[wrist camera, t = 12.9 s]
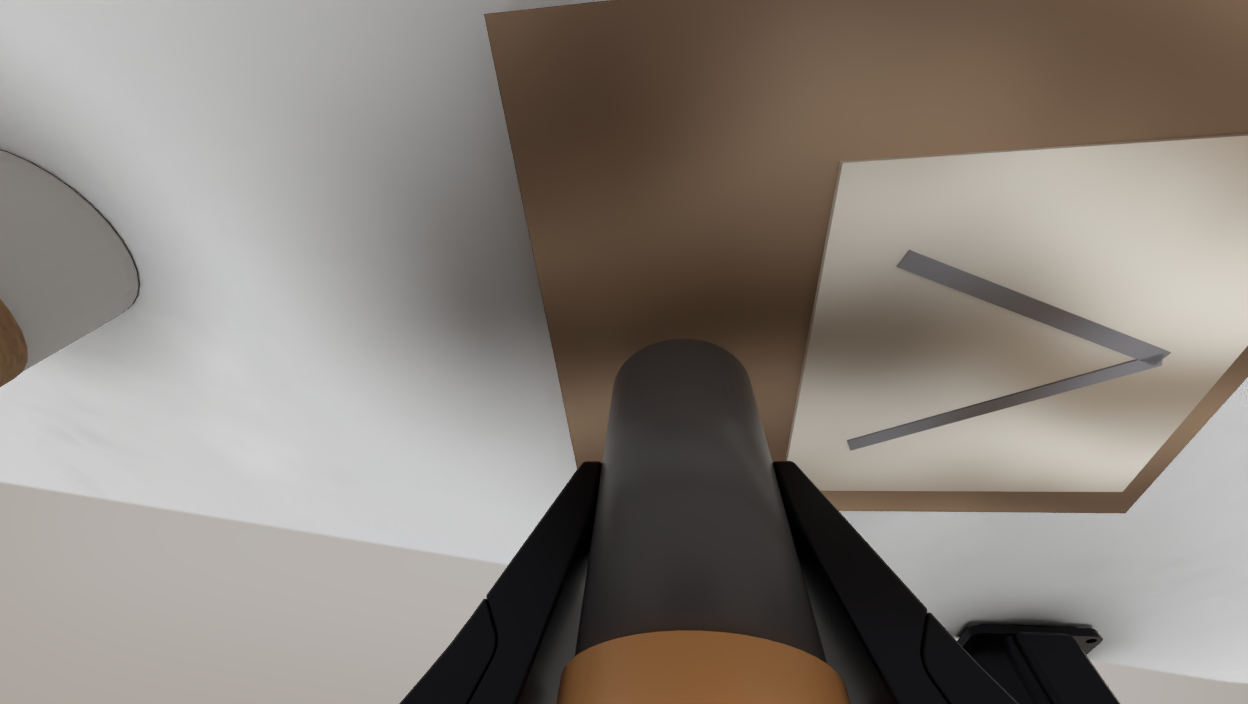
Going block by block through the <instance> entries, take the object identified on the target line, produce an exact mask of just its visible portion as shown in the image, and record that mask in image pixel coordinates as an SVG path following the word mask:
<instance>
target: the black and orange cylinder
mask: <svg viewBox="0 0 1248 704" xmlns="http://www.w3.org/2000/svg"><path fill="white" fill-rule="evenodd" d="M556 704H851V703H850V700H849V696H848V693H847V689H846V687H845V684H844V681H843V680H842V678H841V677H840V676H839V674H838V673H837V672H836V671H835V670H834V669H833V668H831V667H830V666H829V665H828V664H827V662H826V658H825V654H824V650H823V647H822V643H821V639H820V636H819V632H818V628H817V625H816V621H815V617H814V614H813V610H812V606H811V603H810V599H809V595H808V591H807V588H806V584H805V580H804V577H803V573H802V569H801V566H800V562H799V558H798V555H797V551H796V547H795V544H794V540H793V536H792V533H791V529H790V525H789V521H788V518H787V514H786V510H785V507H784V503H783V499H782V496H781V492H780V488H779V485H778V481H777V477H776V474H775V470H774V466H773V462H772V459H771V455H770V451H769V448H768V444H767V440H766V437H765V433H764V429H763V426H762V422H761V418H760V415H759V411H758V407H757V403H756V400H755V396H754V392H753V389H752V385H751V381H750V378H749V375H748V373H747V371H746V369H745V368H744V366H743V365H742V364H741V362H740V361H739V360H738V359H737V358H736V357H735V356H734V355H732V354H731V353H730V352H728V351H727V350H725V349H723V348H721V347H719V346H717V345H715V344H712V343H709V342H705V341H702V340H695V339H670V340H665V341H660V342H657V343H654V344H651V345H649V346H647V347H645V348H643V349H641V350H639V351H638V352H636V353H635V354H633V355H632V356H631V357H630V358H629V359H628V360H627V361H626V362H625V363H624V364H623V365H622V367H621V368H620V370H619V371H618V373H617V375H616V377H615V381H614V384H613V391H612V398H611V405H610V412H609V419H608V426H607V433H606V440H605V447H604V454H603V461H602V468H601V475H600V482H599V489H598V496H597V503H596V510H595V517H594V524H593V531H592V538H591V545H590V552H589V559H588V566H587V573H586V580H585V587H584V594H583V601H582V608H581V615H580V622H579V629H578V636H577V643H576V651H575V657H574V658H573V659H571V660H570V661H569V662H568V664H567V665H566V666H565V667H564V669H563V672H562V674H561V678H560V685H559V691H558V697H557V703H556Z"/></svg>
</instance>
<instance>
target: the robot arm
mask: <svg viewBox="0 0 1248 704" xmlns="http://www.w3.org/2000/svg"><path fill="white" fill-rule="evenodd" d="M773 466H774V470H775V474H776V477H777V481H778V485H779V488H780V492H781V496H782V499H783V503H784V507H785V510H786V514H787V518H788V521H789V525H790V529H791V533H792V536H793V540H794V544H795V547H796V551H797V555H798V558H799V562H800V566H801V569H802V573H803V577H804V580H805V584H806V588H807V591H808V595H809V599H810V603H811V606H812V610H813V614H814V617H815V621H816V625H817V628H818V632H819V636H820V639H821V643H822V647H823V650H824V654H825V658H826V662H827V664H828V665H829V666H830V667H831V668H833V669H834V670H835V671H836V672H837V673H838V674H839V676H840V677H841V678H842V680H843V681H844V684H845V687H846V689H847V693H848V696H849V700H850V703H851V704H1120V703H1119V701H1118V700H1117V698H1116V697H1115V696H1114V694H1113V693H1112V691H1111V690H1110V689H1109V687H1108V686H1107V684H1106V683H1105V681H1104V680H1103V679H1102V677H1101V676H1100V674H1099V673H1098V671H1097V670H1096V669H1095V667H1094V666H1093V664H1092V663H1091V662H1090V660H1089V659H1088V657H1087V656H1086V655H1087V654H1088V653H1089V652H1090V651H1091V650H1092V649H1094V648H1095V647H1096V646H1097V645H1098V644H1099V643H1100V642H1102V640H1103V639H1102V637H1101V636H1100V635H1099V633H1098V632H1097V631H1096V630H1095V629H1090V628H1060V627H1029V626H998V625H973V626H970V627H968V628H967V629H966V630H965V631H964V633H963V634H962V635H961V637H960V638H959V639H958V641H956V640H955V639H954V638H953V637H952V636H951V634H950V633H949V632H948V631H947V630H946V629H945V628H944V627H943V626H942V625H941V623H940V622H939V621H938V620H937V619H936V618H935V617H934V616H933V615H932V614H931V613H927V608H926V607H925V606H924V605H923V604H922V603H921V602H920V600H919V599H918V598H917V597H916V596H915V595H914V594H913V593H912V592H911V591H910V589H909V588H908V587H907V586H906V585H905V584H904V583H903V582H902V581H901V580H900V578H899V577H898V576H897V575H896V574H895V573H894V572H893V571H892V570H891V568H890V567H889V566H888V565H887V564H886V563H885V562H884V561H883V560H882V559H881V557H880V556H879V555H878V554H877V553H876V552H875V551H874V550H873V549H872V548H871V546H870V545H869V544H868V543H867V542H866V541H865V540H864V539H863V538H862V536H861V535H860V534H859V533H858V532H857V531H856V530H855V529H854V528H853V527H852V525H851V524H850V523H849V522H848V521H847V520H846V519H845V518H844V517H843V516H842V514H841V513H840V512H839V511H838V510H837V509H836V508H835V507H834V506H833V504H832V503H831V502H830V501H829V500H828V499H827V498H826V497H825V496H824V495H823V493H822V492H821V491H820V490H819V489H818V488H817V487H816V486H815V485H814V484H813V482H812V481H811V480H810V479H809V478H808V477H807V476H806V475H805V474H804V473H803V471H802V470H801V469H800V468H799V467H798V466H797V465H796V464H795V463H794V462H792V461H774V462H773ZM601 468H602V463H601V462H599V461H585V462H583V463H582V464H581V465H580V467H579V468H578V469H577V471H576V472H575V473H574V475H573V476H572V478H571V479H570V480H569V482H568V483H567V485H566V486H565V487H564V489H563V490H562V491H561V493H560V494H559V496H558V497H557V498H556V500H555V501H554V503H553V504H552V505H551V507H550V508H549V509H548V511H547V512H546V514H545V515H544V516H543V518H542V519H541V521H540V522H539V523H538V525H537V526H536V528H535V529H534V530H533V532H532V533H531V534H530V536H529V537H528V539H527V540H526V541H525V543H524V544H523V546H522V547H521V548H520V550H519V551H518V552H517V554H516V555H515V557H514V558H513V559H512V561H511V562H510V564H509V565H508V566H507V568H506V569H505V570H504V572H503V573H502V575H501V576H500V578H499V579H498V580H497V582H496V583H495V585H494V586H493V587H492V589H491V590H490V591H489V593H488V594H487V599H483V601H482V602H481V603H480V605H479V606H478V608H477V609H476V611H475V612H474V613H473V615H472V616H471V618H470V619H469V620H468V621H467V623H466V624H465V625H464V627H463V628H462V629H461V631H460V632H459V633H458V635H457V636H456V637H455V639H454V640H453V641H452V642H451V644H450V645H449V646H448V648H447V649H446V650H445V651H444V652H443V653H442V655H441V656H440V657H439V658H438V659H437V661H436V662H435V663H434V664H433V665H432V666H431V668H430V669H429V670H428V671H427V672H426V674H425V675H424V676H423V677H422V678H421V679H420V680H419V682H418V683H417V684H416V685H415V686H414V687H413V689H412V690H411V691H410V692H409V693H408V694H407V696H406V697H405V698H404V699H403V700H402V701H401V702H400V704H556V703H557V697H558V691H559V685H560V678H561V674H562V672H563V669H564V667H565V666H566V665H567V664H568V662H569V661H570V660H571V659H573V658H574V657H575V651H576V643H577V636H578V629H579V622H580V615H581V608H582V601H583V594H584V587H585V580H586V573H587V566H588V559H589V552H590V545H591V538H592V531H593V524H594V517H595V510H596V503H597V496H598V489H599V482H600V475H601Z"/></svg>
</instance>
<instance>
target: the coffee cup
mask: <svg viewBox="0 0 1248 704" xmlns="http://www.w3.org/2000/svg"><path fill="white" fill-rule="evenodd" d="M138 286H139V284H138V277H137V271H136V268H135V266H134V263H133V261H132V258H131V256H130V254H129V252H128V251H127V249H126V247H125V246H124V244H123V242H122V240H121V239H120V238H119V237H118V235H117V234H116V233H115V231H114V230H113V229H112V227H111V226H110V225H109V224H108V222H107V221H106V220H105V219H104V218H103V217H102V216H101V215H100V214H99V213H98V212H97V211H96V210H95V209H94V208H93V207H92V206H91V205H90V204H89V203H88V202H87V201H85V200H84V199H83V198H82V197H81V196H80V195H78V194H77V193H76V192H75V191H74V190H73V189H71V188H70V187H68V186H67V185H65V184H64V183H63V182H61V181H60V180H58V179H57V178H55V177H54V176H53V175H51V174H49V173H48V172H46V171H44V170H42V169H41V168H39V167H37V166H35V165H34V164H32V163H30V162H28V161H26V160H24V159H21V158H19V157H17V156H14V155H12V154H10V153H8V152H5V151H1V150H0V387H1V386H3V385H4V384H6V383H8V382H9V381H11V380H12V379H14V378H15V377H17V376H18V375H19V374H20V373H21V372H23V371H24V370H26V369H28V368H29V367H31V366H33V365H35V364H36V363H38V362H40V361H41V360H43V359H45V358H47V357H48V356H50V355H52V354H53V353H55V352H57V351H59V350H60V349H62V348H64V347H65V346H67V345H69V344H71V343H72V342H74V341H76V340H78V339H79V338H81V337H83V336H84V335H86V334H88V333H90V332H91V331H93V330H95V329H96V328H98V327H100V326H101V325H103V324H105V323H107V322H108V321H110V320H112V319H113V318H115V317H117V316H118V315H120V314H121V313H123V312H124V311H125V310H127V309H128V308H129V307H130V306H131V305H132V304H133V302H134V300H135V298H136V297H137V292H138Z"/></svg>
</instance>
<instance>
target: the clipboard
mask: <svg viewBox="0 0 1248 704" xmlns="http://www.w3.org/2000/svg"><path fill="white" fill-rule="evenodd" d="M484 16H485V21H486V26H487V31H488V36H489V41H490V46H491V50H492V55H493V60H494V65H495V70H496V75H497V80H498V85H499V90H500V94H501V99H502V104H503V109H504V114H505V119H506V124H507V129H508V133H509V138H510V143H511V148H512V153H513V158H514V163H515V168H516V172H517V177H518V182H519V187H520V192H521V197H522V202H523V207H524V211H525V216H526V221H527V226H528V231H529V236H530V241H531V246H532V250H533V255H534V260H535V265H536V270H537V275H538V280H539V285H540V290H541V294H542V299H543V304H544V309H545V314H546V319H547V324H548V329H549V333H550V338H551V343H552V348H553V353H554V358H555V363H556V368H557V372H558V377H559V382H560V387H561V392H562V397H563V402H564V407H565V411H566V416H567V421H568V426H569V431H570V436H571V441H572V446H573V451H574V455H575V460H576V465H577V469H578V468H579V467H580V465H581V464H582V463H583V462H585V461H599V462H601V463H602V461H603V454H604V447H605V440H606V433H607V426H608V419H609V412H610V405H611V398H612V391H613V384H614V381H615V377H616V375H617V373H618V371H619V370H620V368H621V367H622V365H623V364H624V363H625V362H626V361H627V360H628V359H629V358H630V357H631V356H632V355H633V354H635V353H636V352H638V351H639V350H641V349H643V348H645V347H647V346H649V345H651V344H654V343H657V342H660V341H665V340H670V339H695V340H702V341H705V342H709V343H712V344H715V345H717V346H719V347H721V348H723V349H725V350H727V351H728V352H730V353H731V354H732V355H734V356H735V357H736V358H737V359H738V360H739V361H740V362H741V364H742V365H743V366H744V368H745V369H746V371H747V373H748V375H749V378H750V381H751V385H752V389H753V392H754V396H755V400H756V403H757V407H758V411H759V415H760V418H761V422H762V426H763V429H764V433H765V437H766V440H767V444H768V448H769V451H770V455H771V459H772V462H774V461H792V462H794V463H795V464H796V465H797V466H798V467H799V468H800V469H801V470H802V471H803V473H804V474H805V475H806V476H807V477H808V478H809V479H810V480H811V481H812V482H813V484H814V485H815V486H816V487H817V488H818V489H819V490H820V491H821V492H822V493H823V495H824V496H825V497H826V498H827V499H828V500H829V501H830V502H831V503H832V504H833V506H834V507H835V508H836V509H837V510H838V511H935V512H1051V513H1126V512H1127V511H1128V509H1129V508H1130V507H1131V506H1132V505H1133V504H1134V503H1135V502H1136V501H1137V499H1138V498H1139V497H1140V496H1141V495H1142V494H1143V493H1144V492H1145V491H1146V489H1147V488H1148V487H1149V486H1150V485H1151V484H1152V483H1153V482H1154V481H1155V479H1156V478H1157V477H1158V476H1159V475H1160V474H1161V473H1162V472H1163V471H1164V469H1165V468H1166V467H1167V466H1168V465H1169V464H1170V463H1171V462H1172V461H1173V459H1174V458H1175V457H1176V456H1177V455H1178V454H1179V453H1180V452H1181V451H1182V449H1183V448H1184V447H1185V446H1186V445H1187V444H1188V443H1189V442H1190V440H1191V439H1192V438H1193V437H1194V436H1195V435H1196V434H1197V433H1198V432H1199V430H1200V429H1201V428H1202V427H1203V426H1204V425H1205V424H1206V423H1207V422H1208V420H1209V419H1210V418H1211V417H1212V416H1213V415H1214V414H1215V413H1216V412H1217V410H1218V409H1219V408H1220V407H1221V406H1222V405H1223V404H1224V403H1225V402H1226V400H1227V399H1228V398H1229V397H1230V396H1231V395H1232V394H1233V393H1234V392H1235V390H1236V389H1237V388H1238V387H1239V386H1240V385H1241V384H1242V383H1243V381H1244V380H1245V379H1246V378H1247V377H1248V0H610V1H601V2H591V3H582V4H573V5H564V6H555V7H545V8H536V9H527V10H518V11H509V12H500V13H490V14H484Z"/></svg>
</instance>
